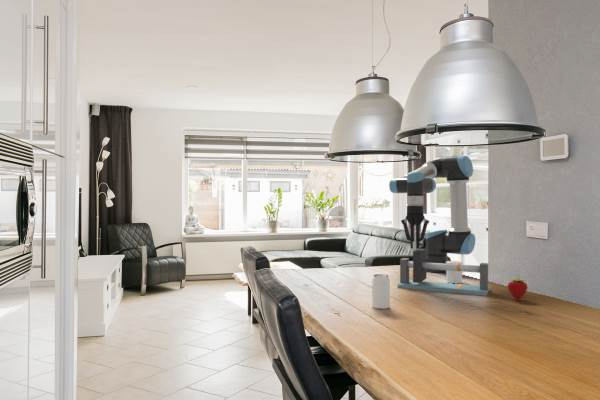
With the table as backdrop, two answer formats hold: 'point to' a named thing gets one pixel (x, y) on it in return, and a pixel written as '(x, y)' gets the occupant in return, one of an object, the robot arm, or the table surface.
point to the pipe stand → (445, 287)
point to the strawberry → (517, 288)
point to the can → (380, 291)
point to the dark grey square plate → (419, 265)
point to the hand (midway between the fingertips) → (415, 255)
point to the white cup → (454, 273)
